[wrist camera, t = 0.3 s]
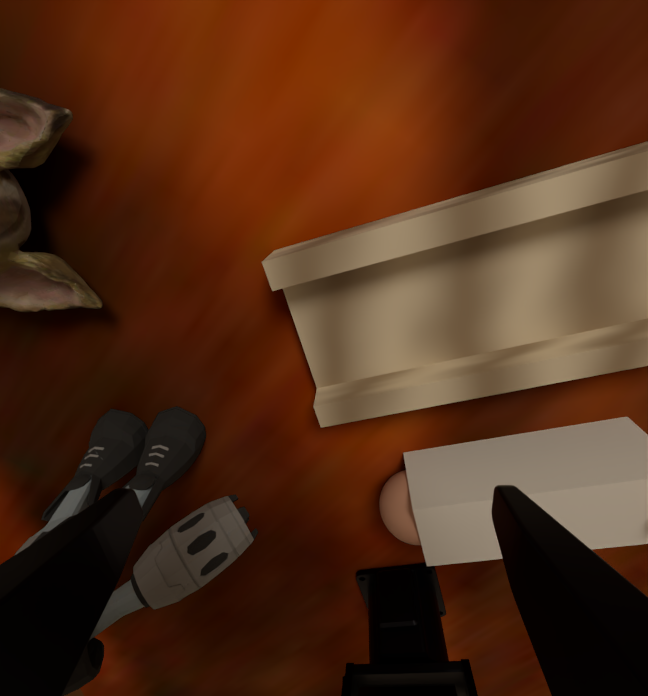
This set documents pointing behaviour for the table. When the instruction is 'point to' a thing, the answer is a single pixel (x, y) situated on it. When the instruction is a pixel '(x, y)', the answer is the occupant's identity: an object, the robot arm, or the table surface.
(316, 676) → the table surface
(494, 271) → the cradle
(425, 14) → the table surface
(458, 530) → the white bar with tab
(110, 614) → the robot
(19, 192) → the ceramic sculpture
